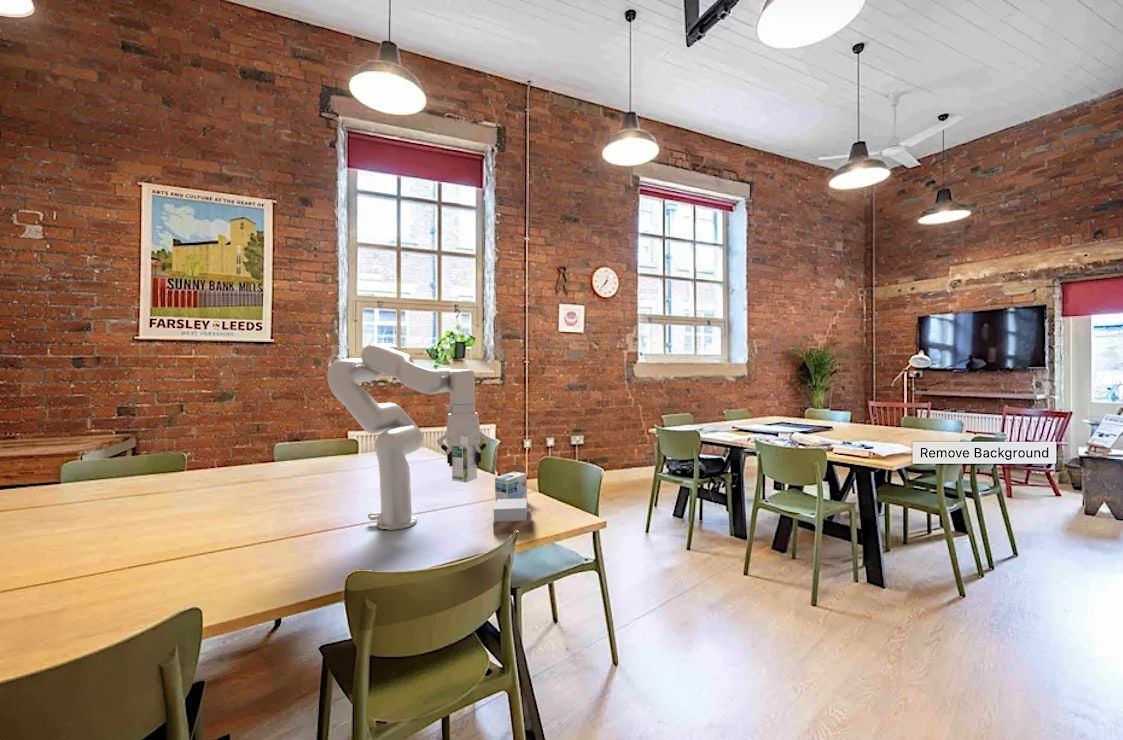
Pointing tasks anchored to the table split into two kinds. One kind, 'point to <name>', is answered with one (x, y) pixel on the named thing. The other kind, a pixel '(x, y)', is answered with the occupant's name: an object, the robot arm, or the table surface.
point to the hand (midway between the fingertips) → (464, 464)
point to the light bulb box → (511, 486)
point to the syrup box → (464, 462)
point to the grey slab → (510, 510)
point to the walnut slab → (513, 525)
